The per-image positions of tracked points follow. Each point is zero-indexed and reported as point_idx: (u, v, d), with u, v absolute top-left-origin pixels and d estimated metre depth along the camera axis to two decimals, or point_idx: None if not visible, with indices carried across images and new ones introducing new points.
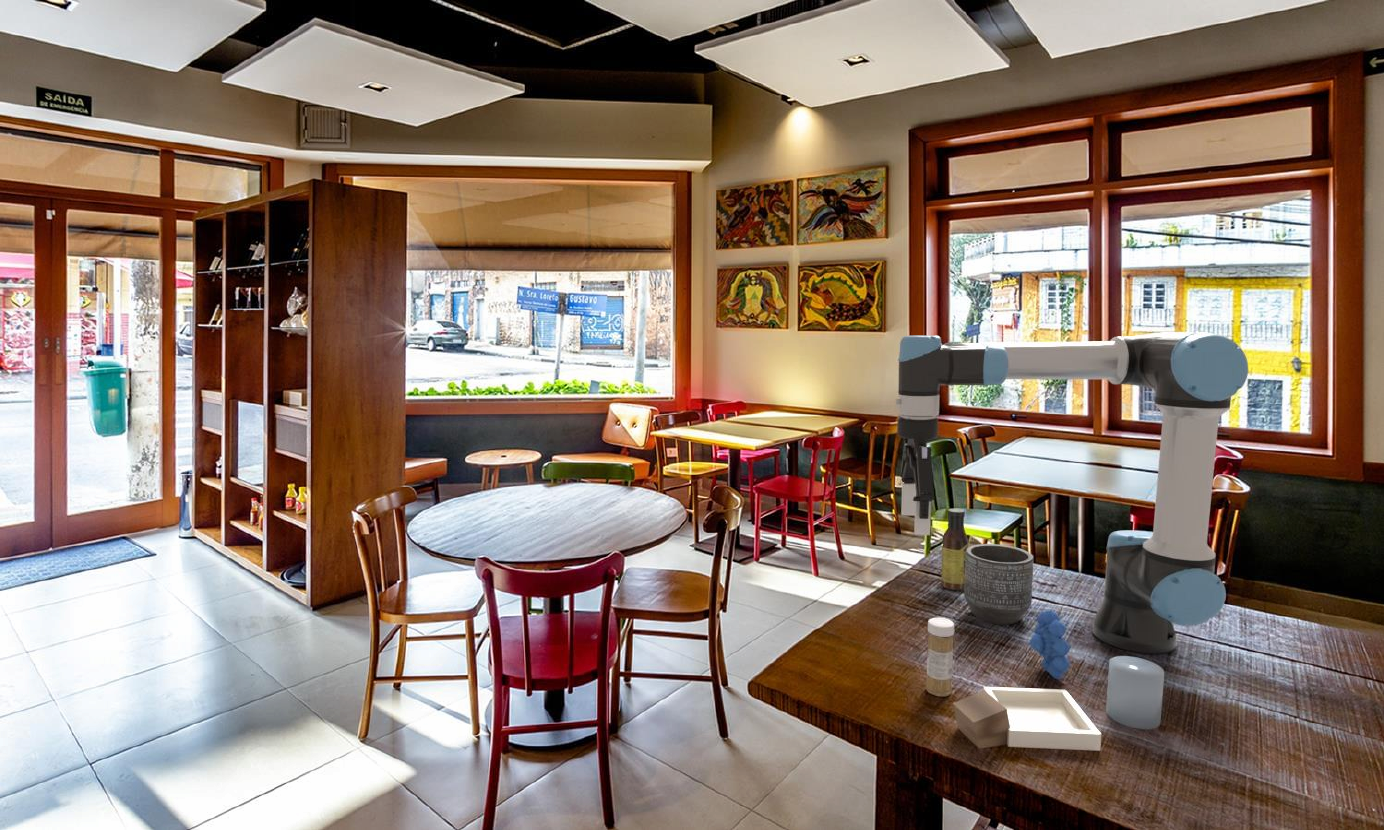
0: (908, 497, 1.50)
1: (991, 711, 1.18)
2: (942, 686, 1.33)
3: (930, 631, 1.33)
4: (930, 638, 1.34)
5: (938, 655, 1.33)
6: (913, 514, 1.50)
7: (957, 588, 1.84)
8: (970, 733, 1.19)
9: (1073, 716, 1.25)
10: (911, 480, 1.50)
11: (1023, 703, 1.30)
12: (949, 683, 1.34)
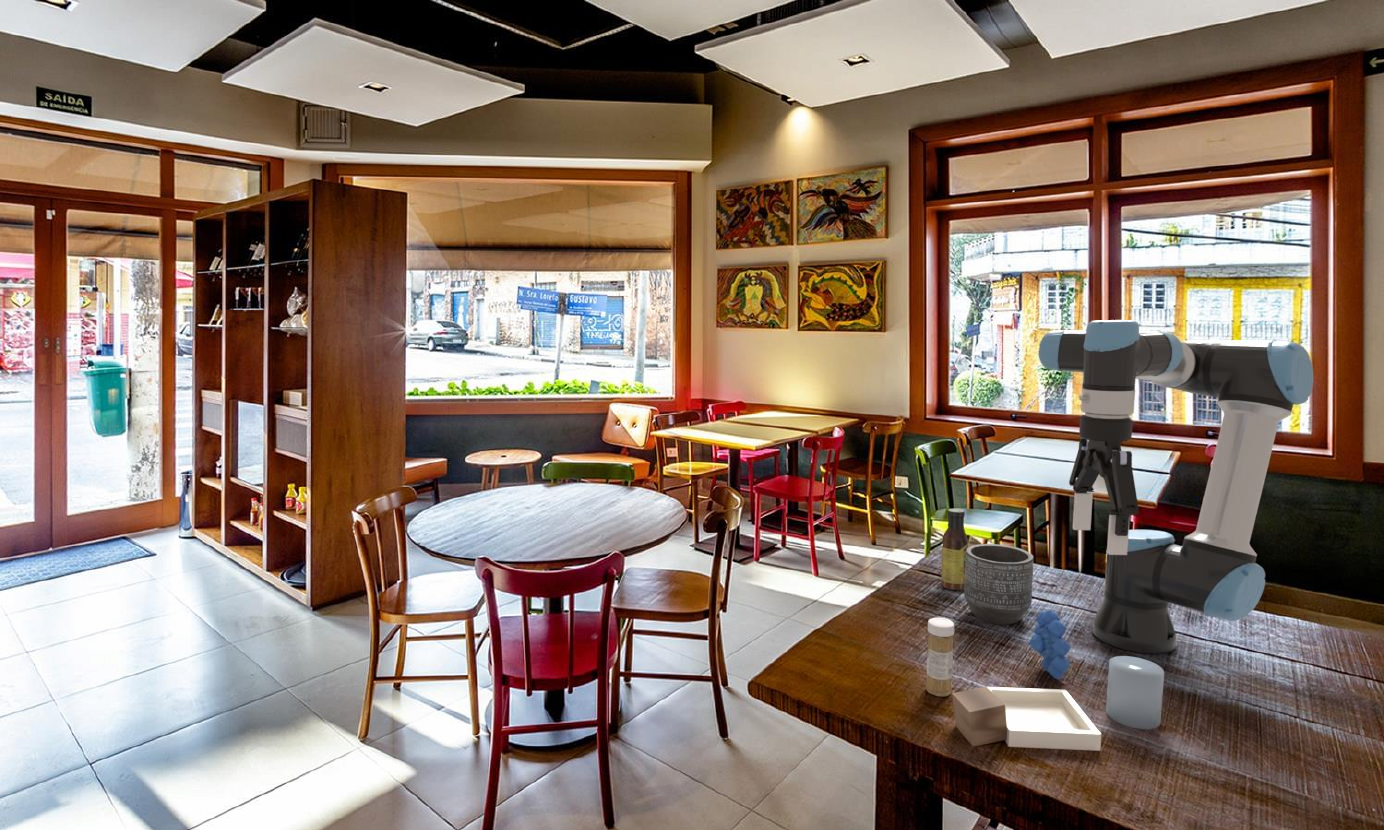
0: (1082, 509, 1.29)
1: (989, 705, 1.19)
2: (942, 686, 1.33)
3: (930, 631, 1.33)
4: (930, 638, 1.34)
5: (938, 655, 1.33)
6: (1088, 528, 1.30)
7: (957, 588, 1.84)
8: (965, 724, 1.20)
9: (1073, 716, 1.25)
10: (1086, 489, 1.30)
11: (1023, 703, 1.30)
12: (949, 683, 1.34)
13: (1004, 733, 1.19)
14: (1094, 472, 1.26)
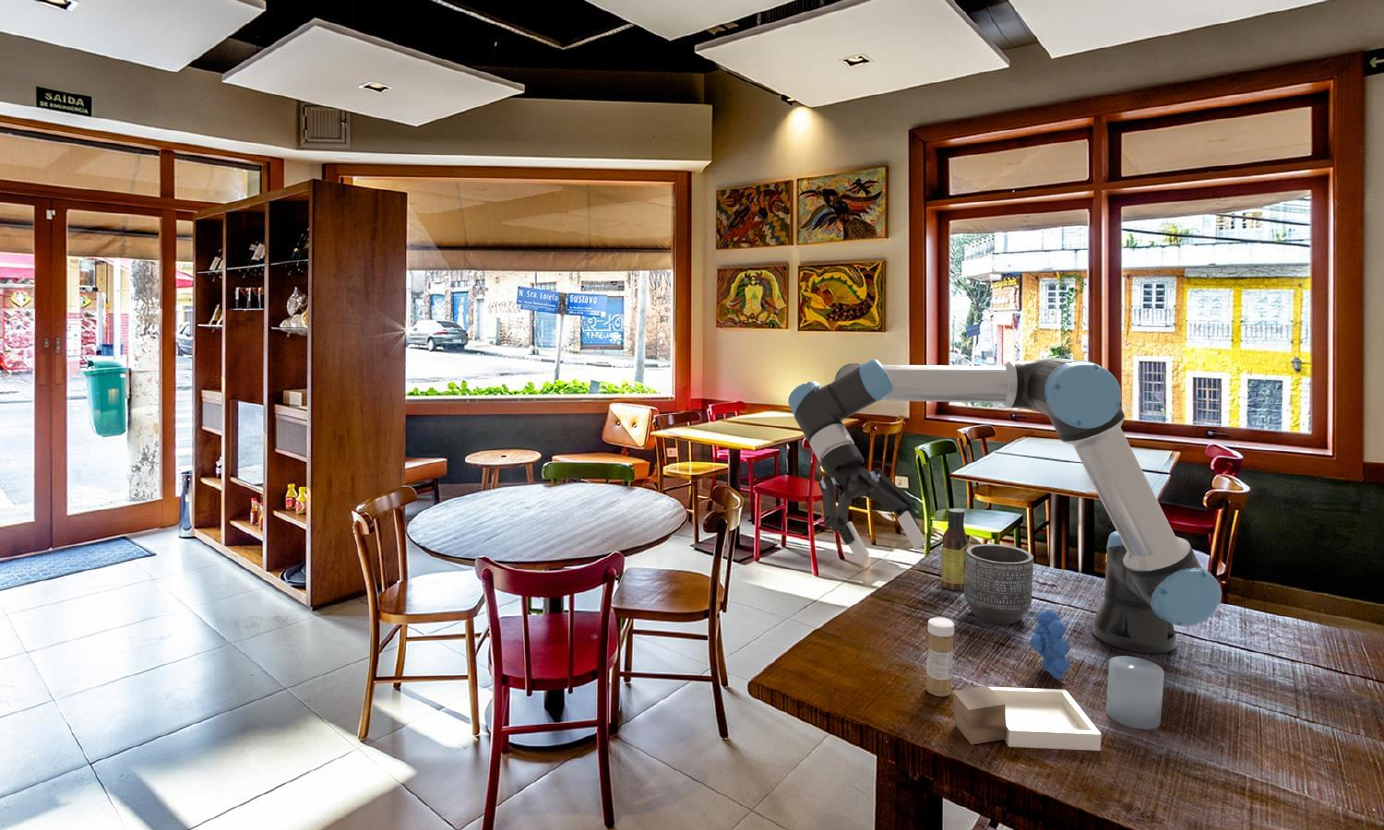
0: (908, 528, 1.34)
1: (989, 703, 1.19)
2: (942, 686, 1.33)
3: (930, 631, 1.33)
4: (930, 638, 1.34)
5: (938, 655, 1.33)
6: (921, 542, 1.32)
7: (957, 588, 1.84)
8: (964, 722, 1.20)
9: (1073, 716, 1.25)
10: (903, 510, 1.36)
11: (1023, 703, 1.30)
12: (949, 683, 1.34)
13: (1003, 732, 1.19)
14: (879, 496, 1.36)
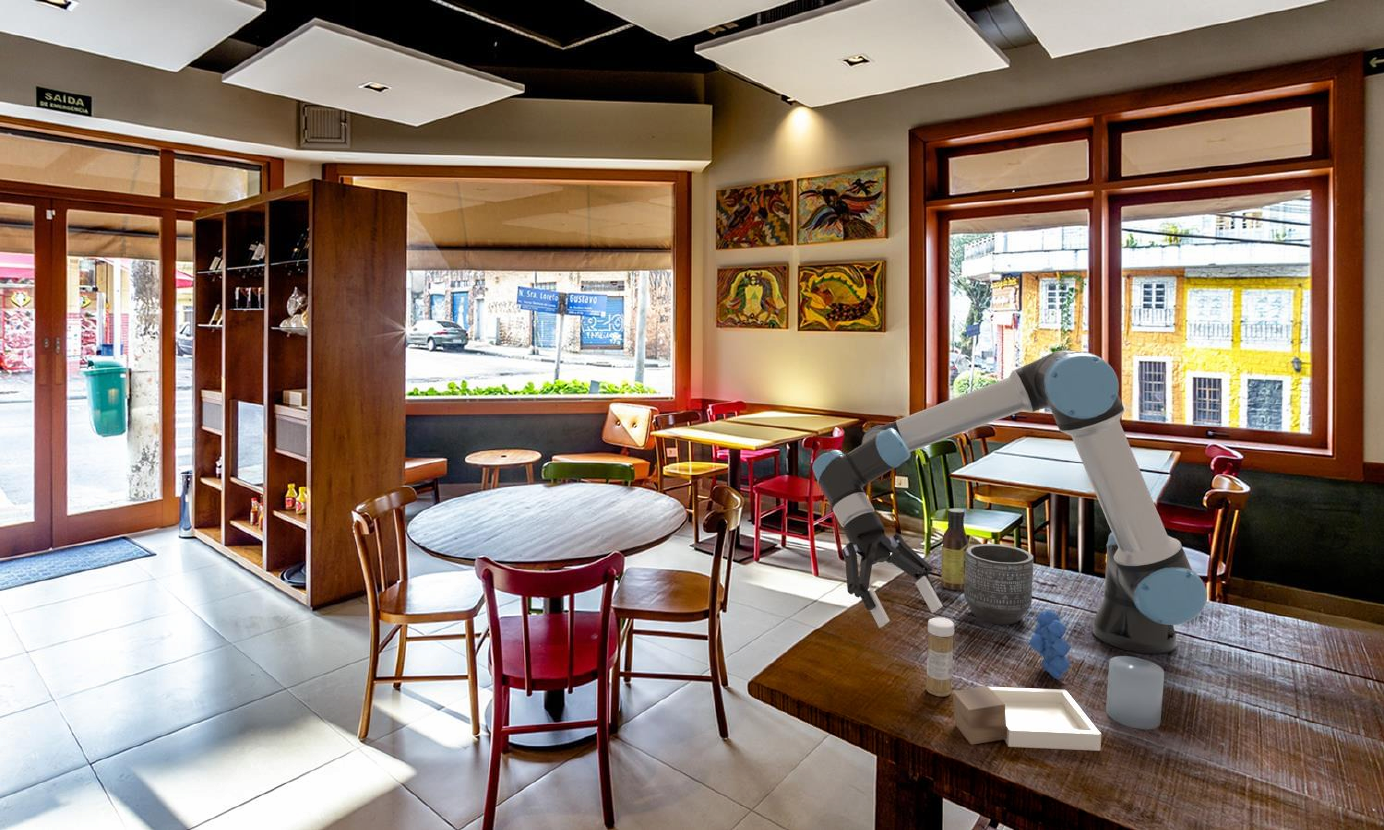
0: (925, 592, 1.44)
1: (989, 703, 1.19)
2: (942, 686, 1.33)
3: (930, 631, 1.33)
4: (930, 638, 1.34)
5: (938, 655, 1.33)
6: (938, 606, 1.42)
7: (957, 588, 1.84)
8: (964, 722, 1.20)
9: (1073, 716, 1.25)
10: (921, 575, 1.46)
11: (1023, 703, 1.30)
12: (949, 683, 1.34)
13: (1003, 732, 1.19)
14: (898, 561, 1.46)
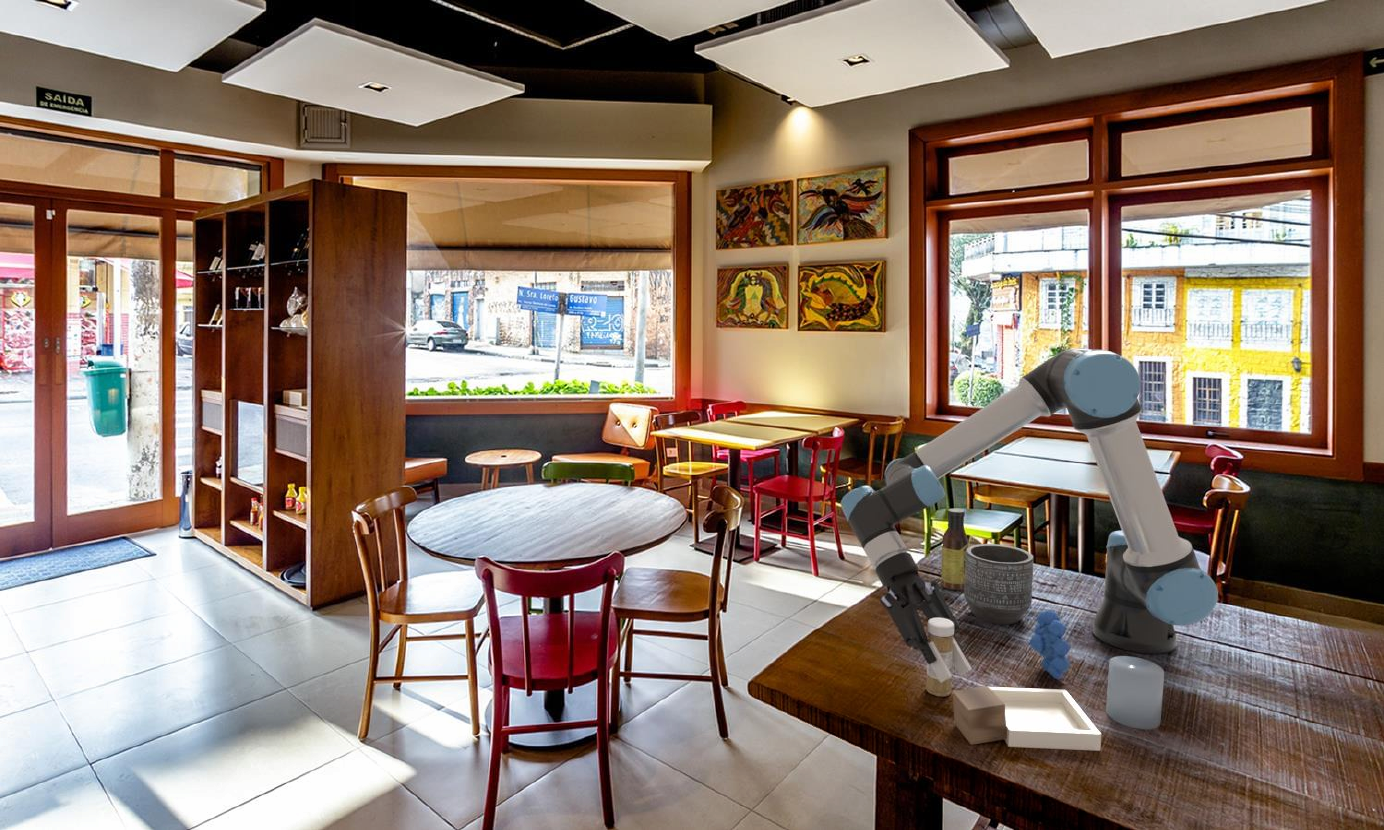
0: None
1: (989, 704, 1.19)
2: (942, 686, 1.33)
3: (930, 631, 1.33)
4: (930, 638, 1.34)
5: None
6: (967, 669, 1.32)
7: (957, 588, 1.84)
8: (964, 722, 1.20)
9: (1073, 716, 1.25)
10: None
11: (1023, 703, 1.30)
12: (949, 683, 1.34)
13: (1003, 732, 1.19)
14: (928, 609, 1.39)
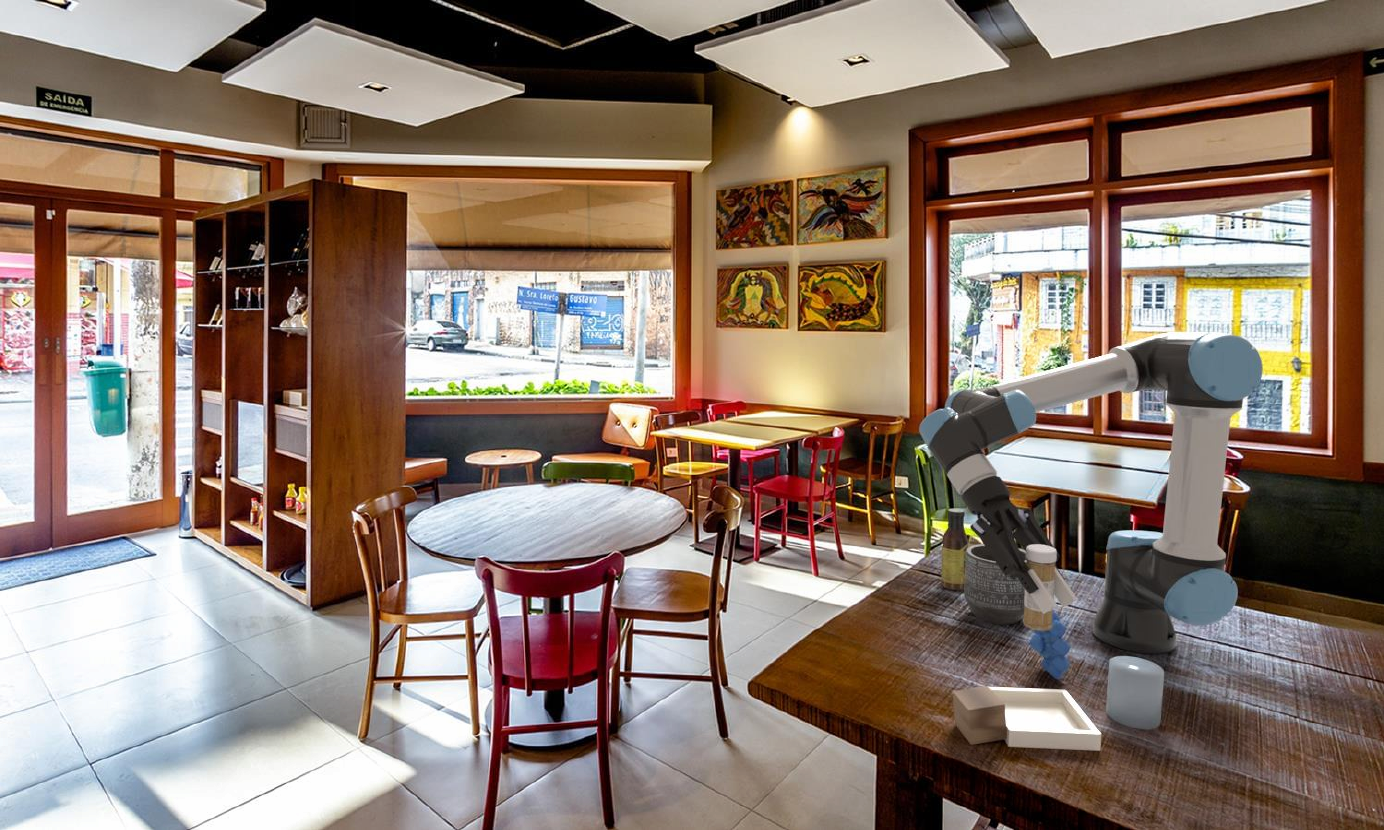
0: None
1: (988, 704, 1.19)
2: (1043, 619, 1.20)
3: (1029, 558, 1.20)
4: (1029, 566, 1.21)
5: None
6: (1071, 599, 1.19)
7: (957, 588, 1.84)
8: (964, 722, 1.20)
9: (1073, 716, 1.25)
10: None
11: (1023, 703, 1.30)
12: (1051, 616, 1.21)
13: (1003, 732, 1.19)
14: (1023, 537, 1.26)
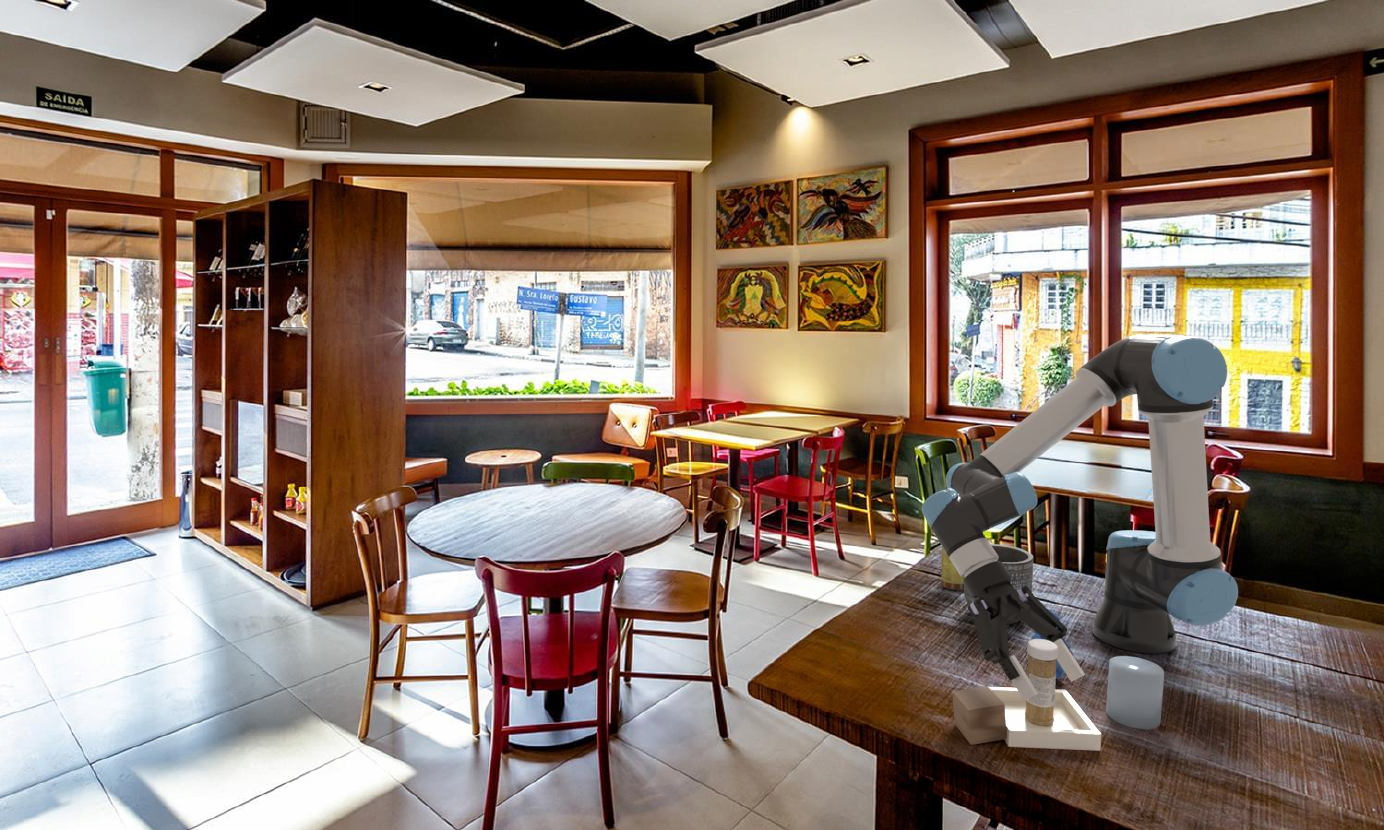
0: (1062, 657, 1.26)
1: (988, 704, 1.19)
2: (1045, 714, 1.22)
3: (1031, 654, 1.22)
4: (1031, 662, 1.22)
5: (1041, 681, 1.21)
6: (1079, 675, 1.23)
7: (957, 588, 1.84)
8: (964, 722, 1.20)
9: (1073, 716, 1.25)
10: (1055, 636, 1.27)
11: (1023, 703, 1.30)
12: (1052, 711, 1.23)
13: (1003, 732, 1.19)
14: (1029, 619, 1.28)
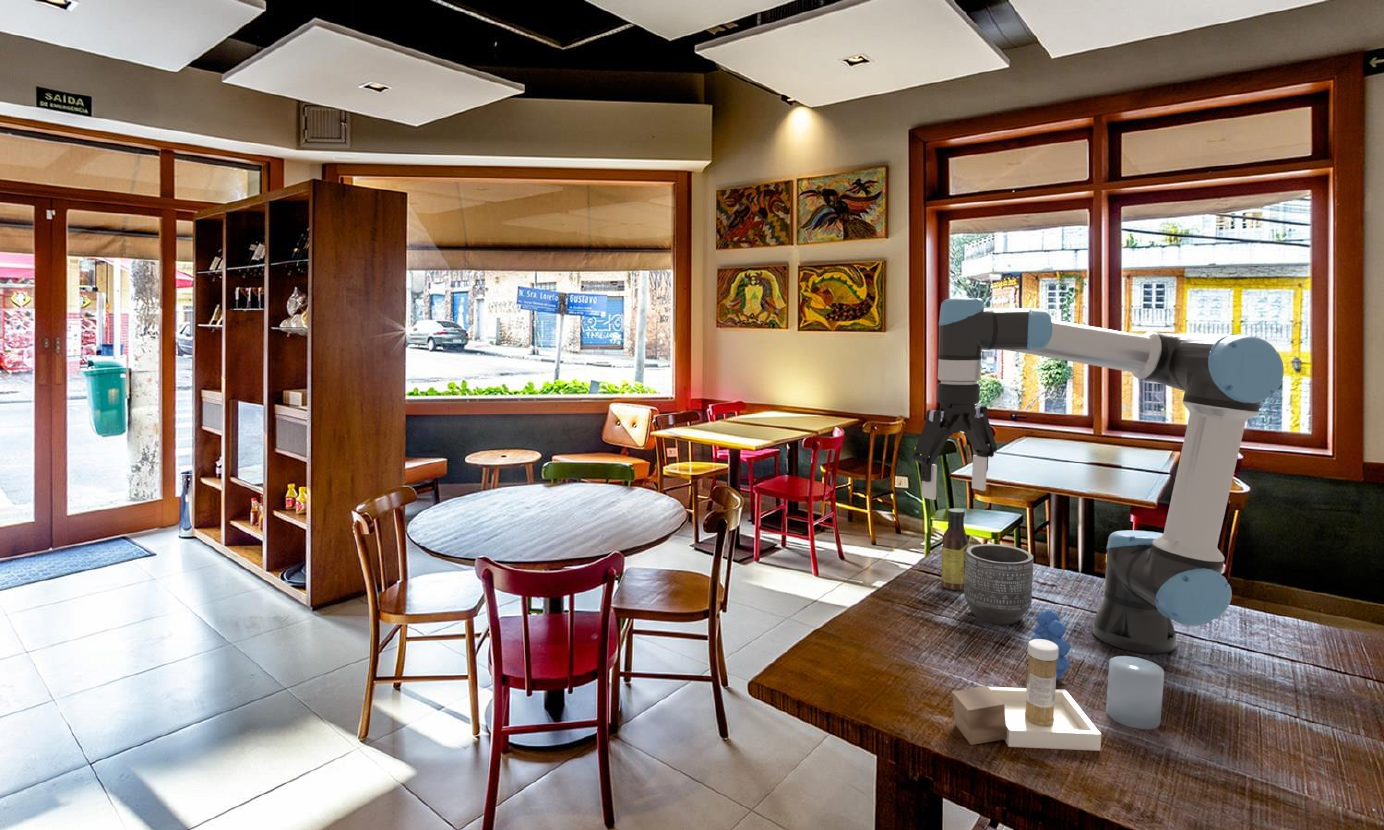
0: (977, 470, 1.43)
1: (988, 704, 1.19)
2: (1045, 714, 1.22)
3: (1032, 654, 1.22)
4: (1032, 662, 1.22)
5: (1041, 681, 1.21)
6: (981, 489, 1.43)
7: (957, 588, 1.84)
8: (964, 722, 1.20)
9: (1073, 716, 1.25)
10: (983, 453, 1.43)
11: (1023, 703, 1.30)
12: (1052, 711, 1.23)
13: (1003, 732, 1.19)
14: (971, 435, 1.41)
